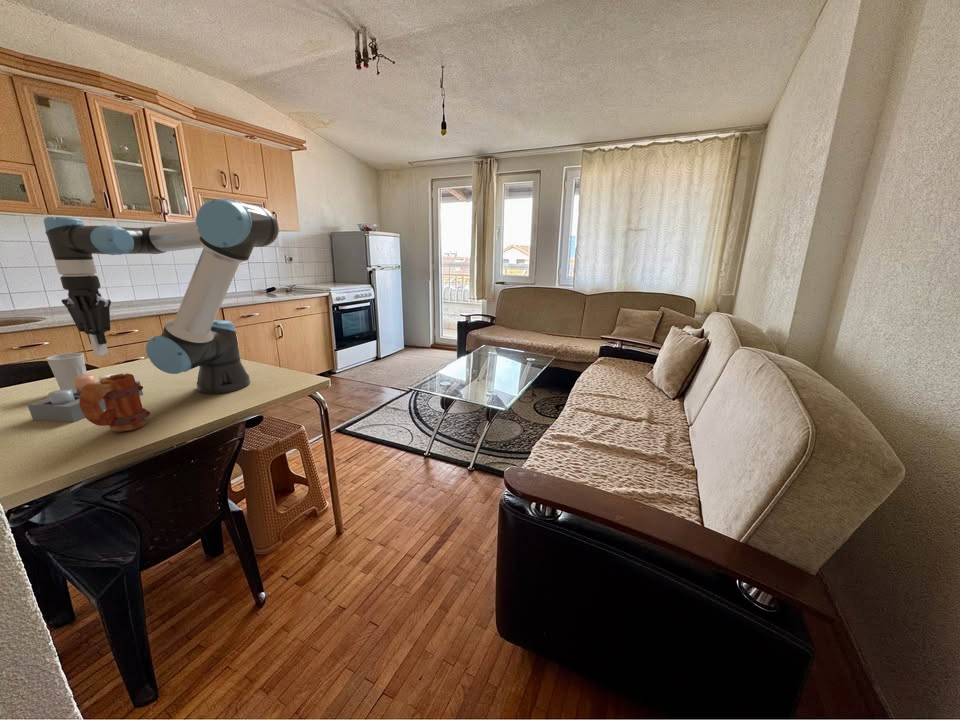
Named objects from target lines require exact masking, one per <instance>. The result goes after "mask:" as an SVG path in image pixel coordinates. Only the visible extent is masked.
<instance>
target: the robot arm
mask: <svg viewBox="0 0 960 720" xmlns="http://www.w3.org/2000/svg"><path fill="white" fill-rule="evenodd" d="M43 224H44V229H45V235H46V237H47V241H48V243H49V247H50V249H51V252H52V256H53V258H54V262H55V266H56V269H57V270H56V271H57V273H58V275H60V277H59V278H60V282H61V286H62V289H63V290H65V291H68V293H67V296H68V297H67V298H64V299H61V303H62V304H63V305H64V306H65V308H66V309H67V311H68V313H69V315H70V317H71V319H72V320H73V323H74V324H75V327H76V328H77V330H78V331H79V332H80V333H82V332H83V333H85V334H86V335H87V338H88V341H89V344H91V347H92V351H93V354H94V357H95V356H96V357H98V356H99V357H100V356H105V355H107V354H109V350H108V346H107V339H106V335H105V333H106V332H109V331H111V314H110V313H111V311H110V310H111V309H110V307H111V305H112V304H111V303H112V300H111V299H105V298H103V297H102V294H101V293H100V292H99V289H100V288H101V287H102V286H101V283H100V279H99V276H97V275H95V274H98V273H97V269H96V265H95V262H94V257H93V254H95V255H111V256H118V255H119V256H120V255H135V254H136V255H137V254H139V255H142V254H143V255H144V254H146V255H148V254H151V255H159V254H165V253H168V252H174V251H175V252H176V251H183V250H192V249H202V250H201V253H200V256H199V258H198V261H197V264H196V266H195V268H194V270H193V273H192V275H191V279H190V280H189V283H188V286H187V289H186V291H185V294H184V295H183V297H182V301H181V303H180V306H179V307H178V310H177V313H176V315H175V318H171V319H168V320H167V321H166V322H165V325H164V328H163V329H162V332H161V333H160V335H155V336H153V337H152V338H150V339H149V340H147V343H146V345H145V352H146V355H147V357H148V359H149V360H150V362H151V363H152V365H153V366H154V367H155V368H156V369H158V370H160V371H162V372H163V373H166V374H170V375H178V374H180V373H181V374H182V373H186V372H189V371H191V370H192V369H195V368H198V367H199V369H198V375H197V381H196V389H197V392H199V393H200V394H205V395H207V394H208V395H209V394H210V395H212V394H213V395H214V394H215V395H216V394H224V393H230V392H234V391H238V390H241V389H244V388H245V387H247V386H248V385H250V383H251V378H250V375H249V374H248V372H247V370H246V369H245V367H244V366H243V363H242V362H241V361H242V360H241V356H240V349H239V344H238V338H237V331H236V327H235V323H233V322H232V321H231V320H226V319H225V320H224V319H223V320H221V319H216V318H217V316H218V313H219V311H220V309H221V306H222V304H223V301H224V299H225V297H226V296H227V292H228V291H229V289H230V286H231V284H232V281H233V278H234V276H235V274H236V272H237V270H238V268H239V265H240V263H243V262H247V261H248V260H249V259H250V256H251V254H252V252H253V250H254V248H262V247H268V246H270V245H271V244H273V243H274V242H275V241H276V240H277V238H278V235H279V231H280V230H279V229H280V228H279V223H278V220H277V219H276V217H275V215H273V213H272V212H271V211H270V210H268V209H266V208H265V207H263V206H260V205H259V204H258V205H257V204H253V203H247V202H242V201H237V200H235V199H230V198H223V199H221V198H217V199H211V200H208V201H206V202H204V203H203V204H202V205H200V207H199V209H198V210H197V213H196V216H195V221H190V222H189V221H187V222H181V223H174V224H173V223H172V224H164V225H157V226H150V227H124V226H115V225H106V224H105V225H104V224H103V225H85V223H84V221H83V220H82V219H81V218H77V217H67V216H65V217H64V216H47V217H44V219H43Z"/></svg>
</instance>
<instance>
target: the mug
mask: <svg viewBox="0 0 960 720" xmlns="http://www.w3.org/2000/svg"><path fill="white" fill-rule="evenodd" d="M116 374H117V373H116ZM135 381H136V379H135V376H134V375H133V374H131V373H129V372H128V373H118V374H117V375H111V376H110V377H109V378H108V377H106V378H102V379H101V380H100V384H98V383H89V384H86V385H85V386H84V387H83V388H82V391H81V394H80V408H81V411H82V413H83V414H84V416H85V419H86V421H89V422H90V423H92V424H93V425H95V426H100V427H108V426H109V428H110V431H112V432H119V433H120V432H122V433H123V432H129V431H134V430H138V429H140V428H142V427H144V426H145V425H146V422H147V421H146V420H147V419H146V418H147V417H149V416H150V415H151V411H149V410H147V409H146V408H143V403H142V401H141V397H140V396H141V395H140V396H139V391H140V390H142V391H143V389H144V386H143V385H141V386H140V385H139V384H138V383H136V382H135ZM101 399H104V403H105V406H106V409H105V410H102V409H101V407H100V405H99V402H100V401H101Z"/></svg>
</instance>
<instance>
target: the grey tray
mask: <svg viewBox="0 0 960 720" xmlns="http://www.w3.org/2000/svg"><path fill="white" fill-rule="evenodd" d="M96 382H97V383H98V384H100V381H96ZM135 382H136V383H138V384H139V385H140V386H142V385H141V382H140V381H139V380H135ZM72 392H73V395H74V398H75V400H74V401H72V402H69V403H66V404H63V405H52V404H51V401H50V398H49V397H47V398H45V399H42V400H37V401H34V402H32V403H28V404H27V408H28V411H29V413H30V416H31V419H32V421H45V422H63V423H64V422H65V423H67V422H69V423H75V422H78V421H80V420H82V419H86V417H85V416H84V414H83V413H82V411H81V408H80V395H78V394H77V391H76V389H74V390H72ZM143 394H144V393H143V389H142V390H140V391H139V396H142V395H143ZM99 405H100V407H101V409H102V410H103V411H105V410H106V406H105V403H104V399H101V401H100V402H99Z"/></svg>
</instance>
